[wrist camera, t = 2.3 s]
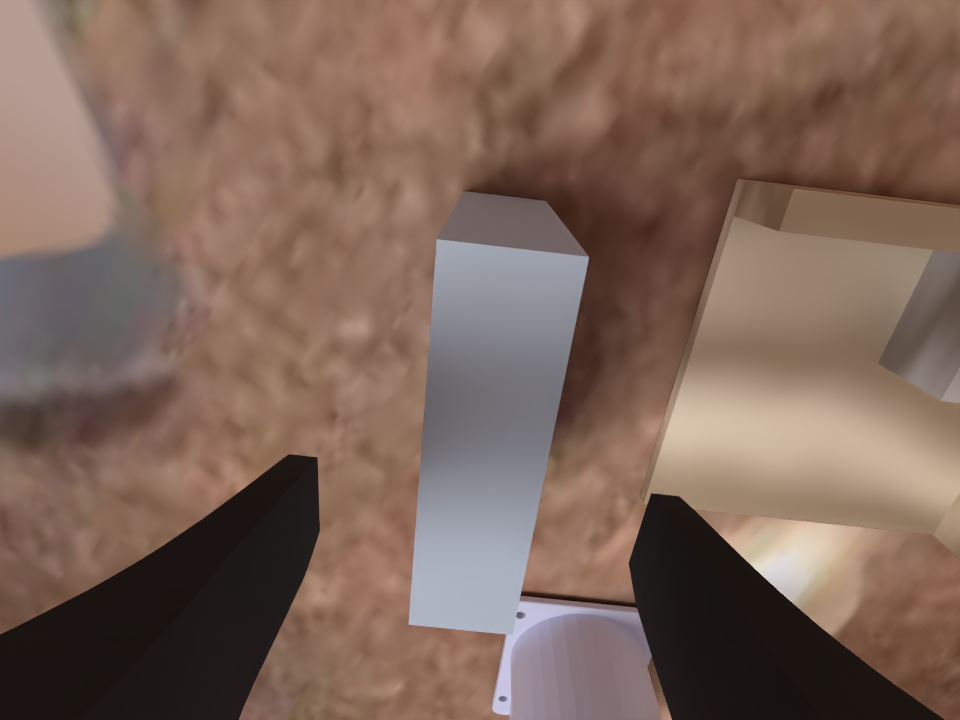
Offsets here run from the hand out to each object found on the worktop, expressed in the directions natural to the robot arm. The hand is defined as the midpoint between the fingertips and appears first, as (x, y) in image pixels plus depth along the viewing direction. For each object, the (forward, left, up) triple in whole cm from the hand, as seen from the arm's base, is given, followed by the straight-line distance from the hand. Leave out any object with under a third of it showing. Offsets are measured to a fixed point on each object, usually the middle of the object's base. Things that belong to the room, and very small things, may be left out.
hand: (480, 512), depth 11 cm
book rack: (0, -16, -10) cm, 19 cm away
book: (0, 0, -10) cm, 10 cm away
